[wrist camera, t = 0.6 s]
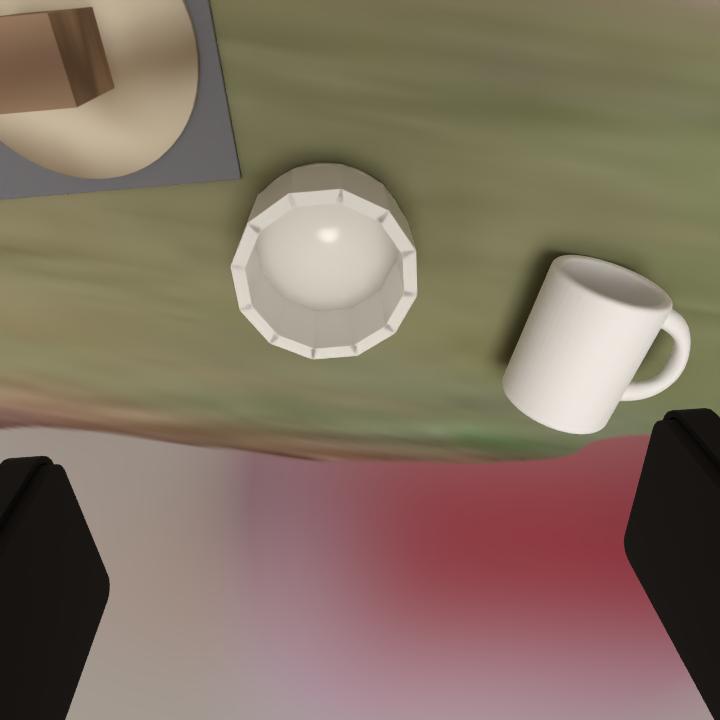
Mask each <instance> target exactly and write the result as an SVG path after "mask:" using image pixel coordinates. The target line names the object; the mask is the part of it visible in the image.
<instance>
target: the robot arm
mask: <svg viewBox="0 0 720 720" xmlns="http://www.w3.org/2000/svg"><path fill="white" fill-rule="evenodd" d="M624 547H625V552H626V555H627V558H628V560H629V562H630V564H631V566H632V568H633V570H634V571H635V573H636V575H637V577H638V579H639V581H640V583H641V584H642V586H643V588H644V590H645V592H646V594H647V596H648V598H649V599H650V601H651V603H652V605H653V607H654V609H655V611H656V612H657V614H658V616H659V618H660V620H661V622H662V623H663V625H664V627H665V629H666V631H667V633H668V635H669V636H670V638H671V640H672V642H673V644H674V646H675V648H676V650H677V651H678V653H679V655H680V657H681V659H682V661H683V663H684V664H685V666H686V668H687V670H688V672H689V673H690V676H691V677H692V679H693V681H694V683H695V684H696V687H697V689H698V690H699V692H700V694H701V696H702V698H703V700H704V701H705V703H706V705H707V707H708V709H709V711H710V713H711V715H712V716H713V718H714V720H720V417H719V416H718V415H717V414H716V413H715V412H713V411H712V410H711V409H707V408H700V409H686V410H672V411H669V412H667V413H666V415H665V416H664V418H663V420H661V421H657V422H656V423H655V425H654V427H653V430H652V434H651V438H650V442H649V445H648V449H647V453H646V457H645V461H644V464H643V468H642V472H641V476H640V479H639V483H638V487H637V491H636V495H635V498H634V502H633V506H632V510H631V513H630V517H629V521H628V525H627V529H626V533H625V537H624ZM109 588H110V583H109V577H108V574H107V572H106V569H105V567H104V564H103V562H102V560H101V557H100V555H99V552H98V550H97V547H96V545H95V542H94V540H93V538H92V535H91V533H90V530H89V528H88V525H87V523H86V521H85V519H84V516H83V513H82V511H81V508H80V506H79V503H78V501H77V499H76V496H75V494H74V492H73V489H72V486H71V484H70V482H69V479H68V477H67V474H66V472H65V470H64V468H63V467H62V466H61V465H58V464H55V465H54V464H53V462H52V460H51V459H50V458H48V457H47V456H35V457H21V458H9V459H6V460H4V461H3V462H2V463H1V464H0V720H65V718H66V716H67V713H68V710H69V708H70V704H71V702H72V699H73V696H74V693H75V691H76V688H77V685H78V682H79V679H80V676H81V673H82V671H83V668H84V665H85V662H86V659H87V656H88V654H89V651H90V648H91V645H92V643H93V640H94V637H95V634H96V632H97V628H98V626H99V623H100V620H101V617H102V614H103V612H104V609H105V606H106V603H107V600H108V597H109V590H110V589H109Z"/></svg>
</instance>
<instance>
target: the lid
mask: <svg viewBox="0 0 720 720" xmlns="http://www.w3.org/2000/svg"><path fill="white" fill-rule="evenodd" d="M199 80H200V56H199V49H198V42H197V36H196V33H195V29H194V25H193V21H192V18H191V16H190V13H189V10H188V8H187V5H186V2H185V0H0V141H1V142H3V143H4V144H5V145H7V146H8V147H9V148H11V149H12V150H13V151H15V152H16V153H18V154H20V155H21V156H23V157H25V158H26V159H28V160H29V161H31V162H34V163H36V164H38V165H40V166H42V167H44V168H46V169H49V170H52V171H55V172H58V173H61V174H65V175H69V176H74V177H80V178H89V179H106V178H113V177H119V176H124V175H127V174H130V173H133V172H136V171H138V170H140V169H142V168H144V167H147V166H148V165H150V164H151V163H153V162H154V161H156V160H157V159H159V158H160V157H161V156H162V155H163V154H164V153H165V152H166V151H167V150H168V149H169V148H170V147H171V146H172V145H173V144H174V143H175V142H176V140H177V139H178V138H179V136H180V135H181V134H182V132H183V131H184V129H185V127H186V125H187V124H188V122H189V120H190V117H191V115H192V112H193V109H194V107H195V103H196V99H197V95H198V90H199Z"/></svg>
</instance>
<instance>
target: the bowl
mask: <svg viewBox="0 0 720 720" xmlns="http://www.w3.org/2000/svg"><path fill="white" fill-rule="evenodd" d="M231 270H232V275H233V280H234V285H235V289H236V294H237V299H238V304H239V308H240V311H241V312H242V313H243V314H244V315H245V316H246V318H247V319H248V320H249V321H250V322H251V323H252V324H253V325H254V326H255V327H256V329H257V330H258V331H259V332H260V333H261V334H262V335H263V336H264V337H265V338H266V339H267V341H268V342H269V343H270V344H273V345H276V346H278V347H281V348H284V349H286V350H289V351H292V352H294V353H297V354H299V355H302V356H305V357H307V358H310V359H323V358H335V357H347V356H358V355H359V354H361V353H363V352H364V351H366V350H368V349H369V348H371V347H373V346H374V345H376V344H378V343H379V342H381V341H383V340H384V339H386V338H388V337H389V336H391V335H393V334H394V333H395V332H396V331H397V329H398V327H399V326H400V324H401V322H402V320H403V319H404V317H405V315H406V314H407V312H408V310H409V309H410V307H411V305H412V303H413V302H414V300H415V298H416V297H417V270H416V249H415V245H414V242H413V238H412V235H411V232H410V228H409V225H408V221H407V219H406V218H405V216H404V215H403V213H402V212H401V210H400V208H399V206H398V204H397V203H396V201H395V199H394V198H393V196H392V195H391V194H390V192H389V191H388V190H387V189H386V188H385V186H384V185H383V184H382V183H380V182H379V181H377V180H376V179H375V178H373V177H372V176H371V175H369V174H367V173H365V172H363V171H362V170H359V169H357V168H354V167H352V166H348V165H344V164H339V163H330V162H322V163H312V164H306V165H303V166H299V167H296V168H293V169H292V170H289V171H287V172H285V173H284V174H282V175H281V176H279V177H277V178H276V179H275V180H274V181H273V182H271V183H270V184H269V185H268V186H267V187H266V188H265V189H264V190H263V191H262V192H261V193H259V194H258V195H257V198H256V200H255V203H254V206H253V208H252V210H251V213H250V216H249V218H248V221H247V223H246V226H245V229H244V231H243V234H242V236H241V239H240V241H239V244H238V247H237V250H236V252H235V255H234V258H233V261H232V263H231Z"/></svg>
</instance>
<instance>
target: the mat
mask: <svg viewBox="0 0 720 720" xmlns="http://www.w3.org/2000/svg"><path fill="white" fill-rule="evenodd" d="M185 2H186V5H187V8H188V10H189V13H190V16H191V18H192V21H193V25H194V29H195V33H196V36H197V42H198V49H199V56H200V80H199V90H198V95H197V99H196V103H195V107H194V109H193V112H192V115H191V117H190V120H189V122H188V124H187V125H186V127H185V129H184V131H183V132H182V134H181V135H180V136H179V138H178V139H177V140H176V142H175V143H174V144H173V145H172V146H171V147H170V148H169V149H168V150H167V151H166V152H165V153H164V154H163V155H162V156H161V157H160V158H159V159H157V160H156V161H154V162H153V163H151V164H150V165H148V166H147V167H144V168H142V169H140V170H138V171H136V172H133V173H130V174H127V175H124V176H119V177H113V178H106V179H89V178H80V177H74V176H69V175H65V174H61V173H58V172H55V171H52V170H49V169H46V168H44V167H42V166H40V165H38V164H36V163H34V162H31V161H29V160H28V159H26V158H25V157H23V156H21V155H20V154H18V153H16V152H15V151H13V150H12V149H11V148H9V147H8V146H7V145H5V144H4V143H3V142H1V141H0V200H3V199H15V198H26V197H38V196H50V195H61V194H73V193H84V192H96V191H107V190H119V189H130V188H142V187H154V186H165V185H177V184H188V183H200V182H211V181H223V180H234V179H241V171H240V166H239V160H238V155H237V150H236V144H235V139H234V133H233V128H232V122H231V117H230V111H229V106H228V100H227V95H226V89H225V84H224V78H223V73H222V68H221V62H220V57H219V51H218V46H217V40H216V35H215V29H214V24H213V18H212V13H211V7H210V2H209V0H185Z"/></svg>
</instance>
